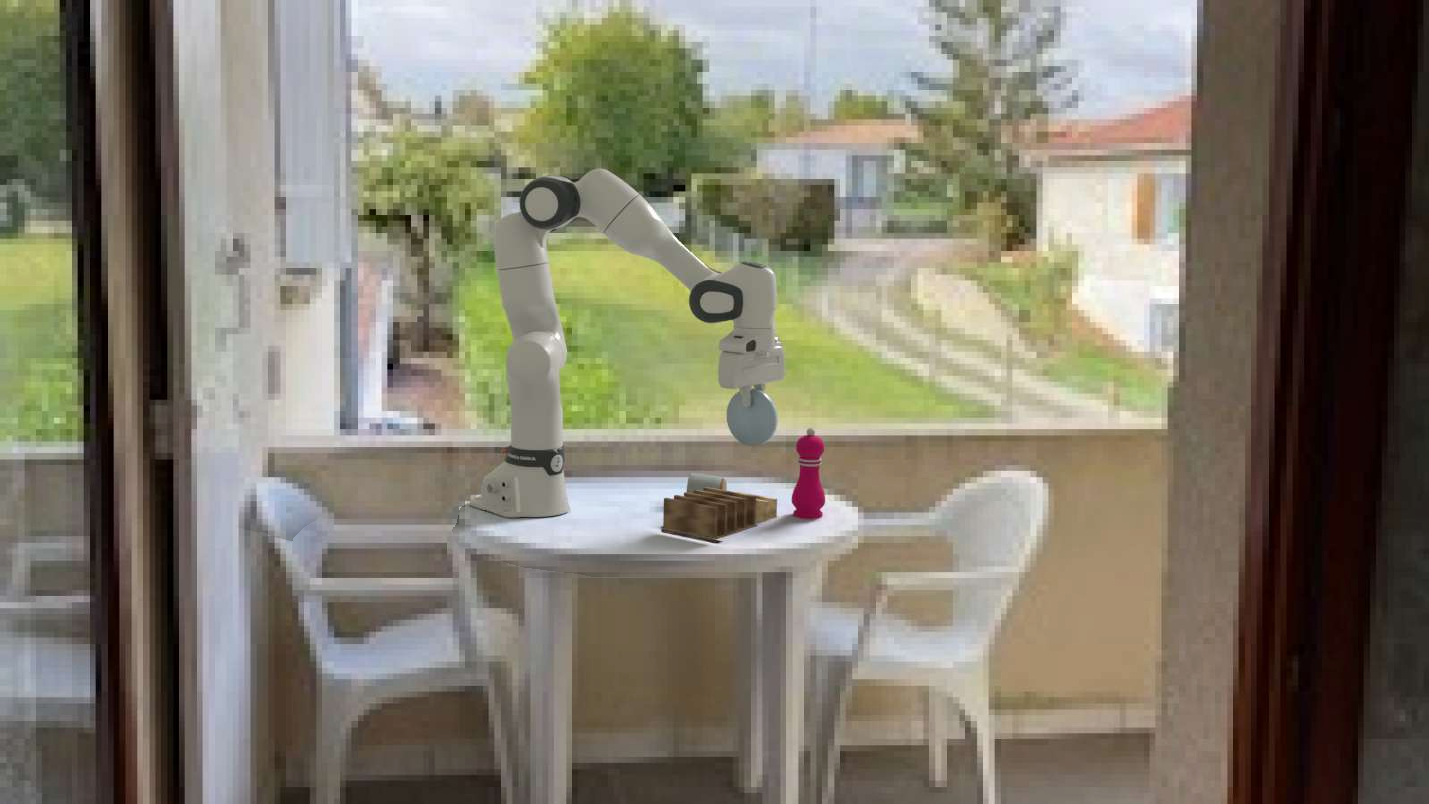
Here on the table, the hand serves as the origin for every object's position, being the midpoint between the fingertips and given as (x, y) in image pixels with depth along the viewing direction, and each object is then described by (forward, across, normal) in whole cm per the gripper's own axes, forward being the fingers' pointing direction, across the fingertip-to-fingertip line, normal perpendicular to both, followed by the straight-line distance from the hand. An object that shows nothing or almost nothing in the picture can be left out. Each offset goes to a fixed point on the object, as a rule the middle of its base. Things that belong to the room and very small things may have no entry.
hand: (751, 405), depth 308 cm
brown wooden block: (+25, -1, 0) cm, 25 cm away
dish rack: (+25, +13, -1) cm, 28 cm away
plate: (+8, 0, 0) cm, 9 cm away
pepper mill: (+25, -9, +9) cm, 28 cm away
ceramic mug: (+25, -4, -14) cm, 29 cm away
